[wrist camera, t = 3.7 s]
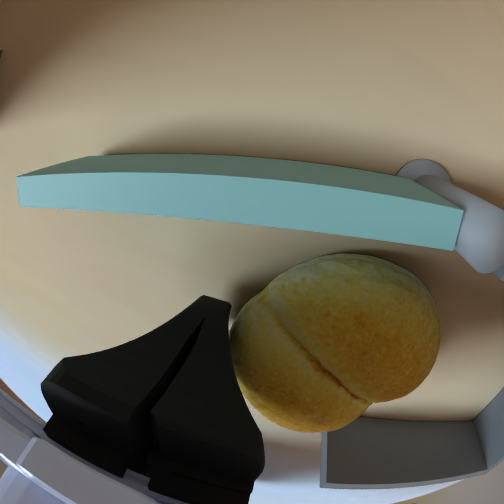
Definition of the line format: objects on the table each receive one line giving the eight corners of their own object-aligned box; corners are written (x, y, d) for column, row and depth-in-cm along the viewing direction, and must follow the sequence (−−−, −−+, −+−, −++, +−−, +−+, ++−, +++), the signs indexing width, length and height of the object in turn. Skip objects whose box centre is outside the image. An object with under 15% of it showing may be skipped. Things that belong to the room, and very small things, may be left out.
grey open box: (471, 426, 15) (485, 473, 10) (285, 412, 15) (276, 482, 11) (585, 262, 8) (626, 300, 4) (403, 148, 9) (473, 167, 5)
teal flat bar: (448, 179, 9) (521, 216, 5) (440, 220, 9) (503, 276, 5) (87, 149, 10) (6, 170, 6) (89, 186, 11) (12, 219, 7)
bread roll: (449, 330, 12) (478, 387, 8) (308, 408, 15) (306, 467, 11) (365, 196, 10) (398, 236, 6) (202, 321, 13) (172, 383, 10)
